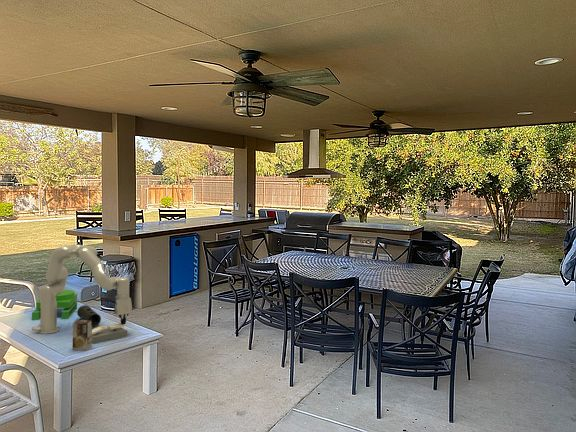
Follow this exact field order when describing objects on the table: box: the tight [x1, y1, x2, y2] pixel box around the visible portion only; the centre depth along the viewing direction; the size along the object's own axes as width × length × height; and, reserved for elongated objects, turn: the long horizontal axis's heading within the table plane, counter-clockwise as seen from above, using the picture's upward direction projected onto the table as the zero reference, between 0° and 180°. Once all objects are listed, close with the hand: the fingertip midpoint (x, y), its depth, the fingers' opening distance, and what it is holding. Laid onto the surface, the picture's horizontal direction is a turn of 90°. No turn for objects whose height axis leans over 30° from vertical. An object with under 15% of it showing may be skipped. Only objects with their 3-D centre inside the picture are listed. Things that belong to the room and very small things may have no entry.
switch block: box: [92, 327, 128, 345], centre depth 278 cm, size 22×12×5 cm, turn 138°
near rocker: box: [92, 324, 107, 335], centre depth 274 cm, size 9×5×1 cm, turn 138°
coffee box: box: [72, 319, 93, 351], centre depth 258 cm, size 9×6×16 cm
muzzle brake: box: [76, 304, 102, 329], centre depth 308 cm, size 10×28×10 cm, turn 39°
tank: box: [31, 289, 78, 321], centre depth 324 cm, size 24×35×16 cm
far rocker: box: [106, 322, 125, 329], centre depth 283 cm, size 9×5×1 cm, turn 138°
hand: (123, 323), depth 286 cm, fingers closed
